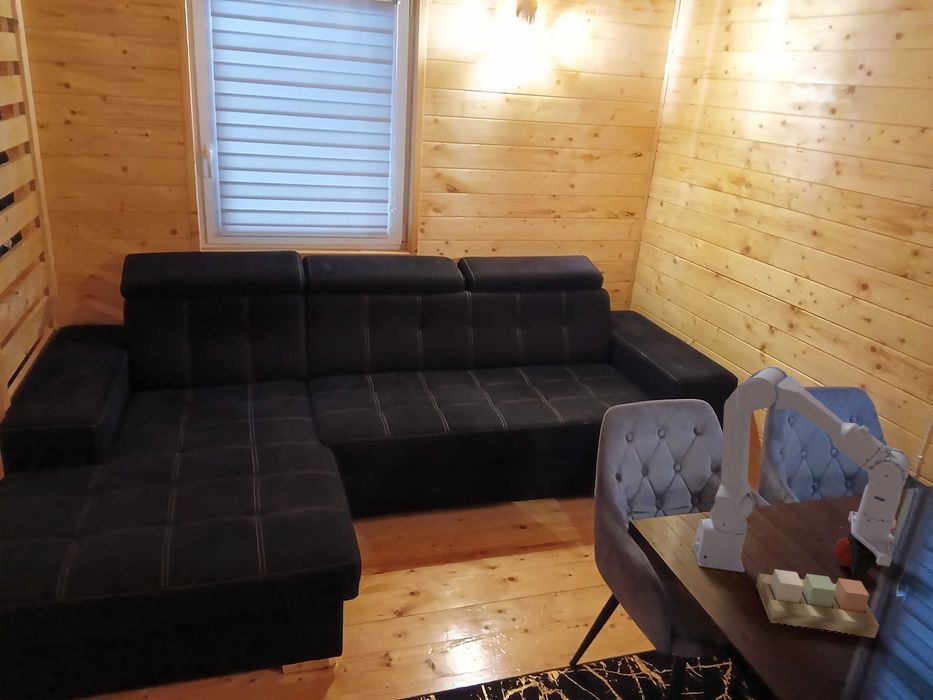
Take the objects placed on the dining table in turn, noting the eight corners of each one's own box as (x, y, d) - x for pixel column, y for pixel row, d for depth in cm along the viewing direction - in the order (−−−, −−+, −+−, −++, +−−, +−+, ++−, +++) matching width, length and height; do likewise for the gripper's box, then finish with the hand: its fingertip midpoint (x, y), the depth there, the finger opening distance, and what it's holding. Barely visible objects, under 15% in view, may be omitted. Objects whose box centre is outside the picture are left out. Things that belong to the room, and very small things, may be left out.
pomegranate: (863, 576, 148) (873, 545, 145) (834, 571, 149) (844, 540, 146) (854, 560, 153) (864, 529, 150) (827, 555, 154) (836, 524, 151)
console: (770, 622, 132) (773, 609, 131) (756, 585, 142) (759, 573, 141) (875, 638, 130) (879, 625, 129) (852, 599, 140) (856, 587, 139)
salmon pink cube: (840, 609, 133) (846, 592, 132) (833, 594, 137) (838, 578, 135) (863, 612, 132) (869, 595, 131) (855, 597, 136) (860, 581, 135)
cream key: (776, 599, 134) (780, 582, 133) (770, 585, 138) (774, 569, 137) (798, 603, 134) (803, 586, 132) (792, 588, 138) (796, 572, 136)
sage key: (808, 604, 134) (813, 587, 132) (801, 590, 137) (806, 573, 136) (831, 607, 133) (836, 590, 132) (823, 593, 137) (828, 576, 136)
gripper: (917, 538, 120) (896, 602, 125) (882, 495, 134) (864, 553, 139) (875, 533, 121) (855, 596, 126) (844, 490, 135) (827, 548, 139)
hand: (857, 573), depth 132 cm, fingers closed
